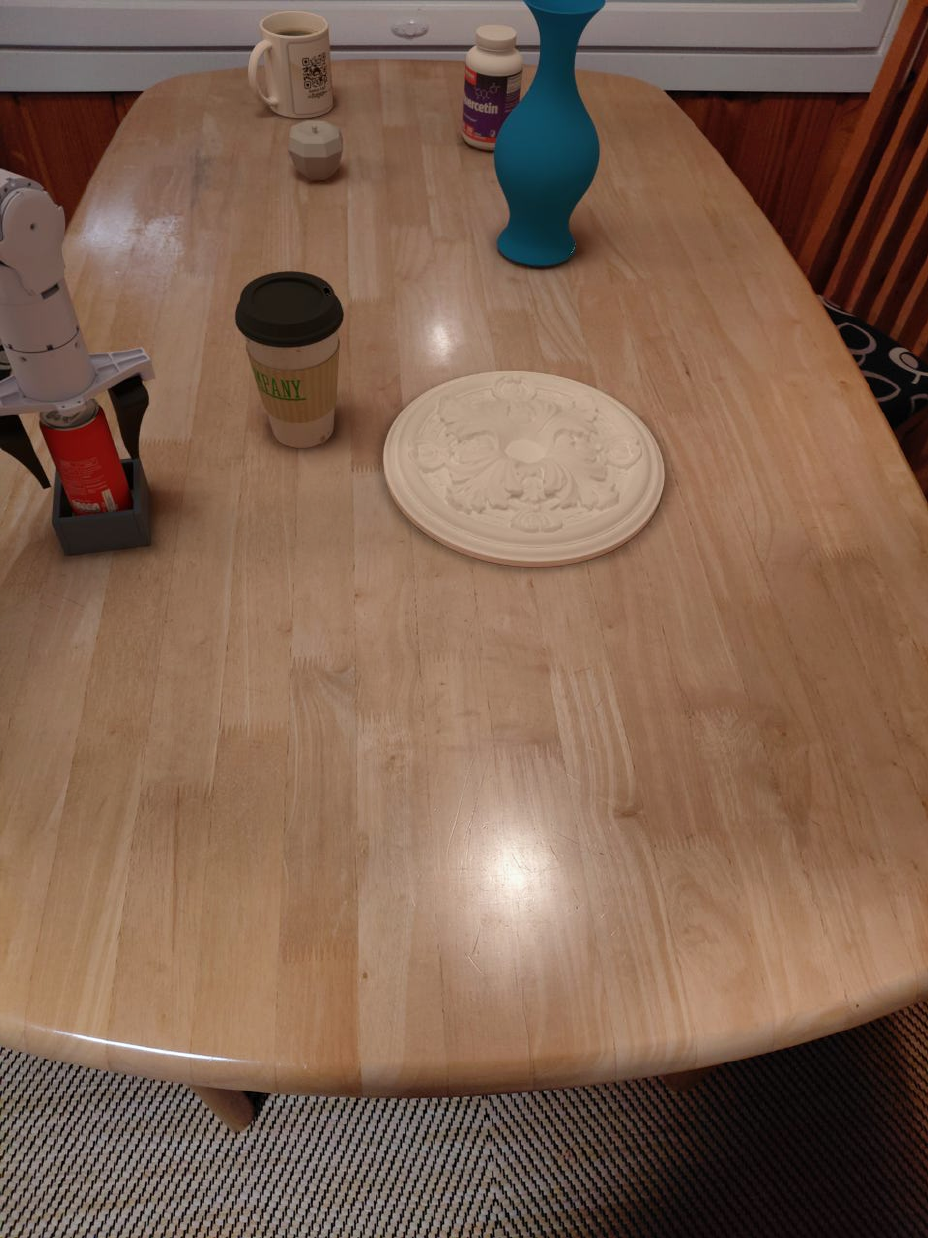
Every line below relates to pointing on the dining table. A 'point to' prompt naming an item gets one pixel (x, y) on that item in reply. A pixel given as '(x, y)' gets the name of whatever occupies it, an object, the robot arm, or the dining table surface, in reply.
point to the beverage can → (86, 460)
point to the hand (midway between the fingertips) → (89, 466)
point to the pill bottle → (490, 84)
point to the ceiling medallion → (523, 468)
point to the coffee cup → (293, 352)
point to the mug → (294, 64)
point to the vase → (548, 142)
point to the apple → (315, 148)
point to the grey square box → (105, 518)
